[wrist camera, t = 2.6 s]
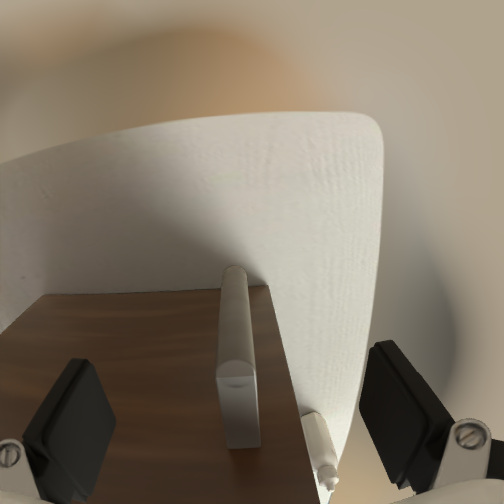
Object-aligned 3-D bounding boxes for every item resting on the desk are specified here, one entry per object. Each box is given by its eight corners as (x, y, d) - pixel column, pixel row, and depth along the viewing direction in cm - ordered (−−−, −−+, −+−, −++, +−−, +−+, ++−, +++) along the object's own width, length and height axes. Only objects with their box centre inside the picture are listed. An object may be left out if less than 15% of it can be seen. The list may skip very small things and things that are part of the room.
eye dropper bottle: (295, 435, 39) (309, 502, 28) (301, 411, 38) (318, 482, 26) (323, 433, 40) (342, 497, 28) (332, 409, 38) (355, 477, 26)
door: (31, 248, 29) (-125, 360, 6) (266, 228, 30) (349, 447, 7) (45, 302, 31) (-77, 439, 8) (268, 294, 32) (321, 528, 9)
